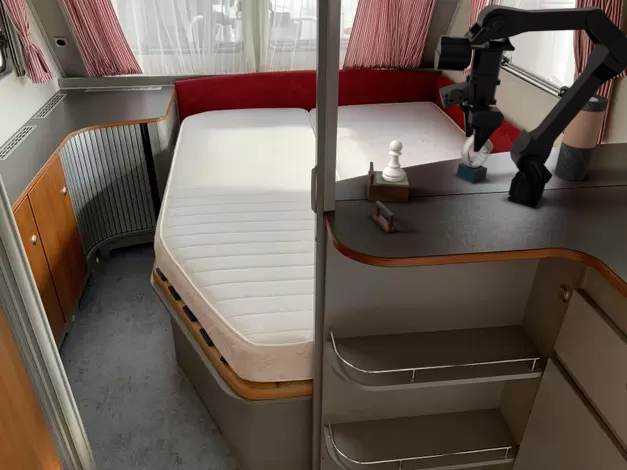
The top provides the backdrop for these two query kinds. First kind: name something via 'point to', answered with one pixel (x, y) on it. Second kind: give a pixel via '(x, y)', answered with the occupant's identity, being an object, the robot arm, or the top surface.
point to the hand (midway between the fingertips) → (471, 144)
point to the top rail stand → (386, 187)
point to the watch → (474, 169)
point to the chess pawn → (394, 164)
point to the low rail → (380, 220)
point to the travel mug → (581, 140)
